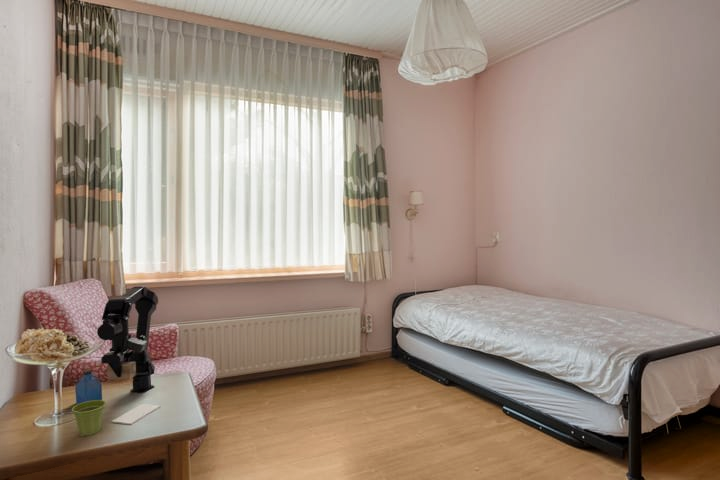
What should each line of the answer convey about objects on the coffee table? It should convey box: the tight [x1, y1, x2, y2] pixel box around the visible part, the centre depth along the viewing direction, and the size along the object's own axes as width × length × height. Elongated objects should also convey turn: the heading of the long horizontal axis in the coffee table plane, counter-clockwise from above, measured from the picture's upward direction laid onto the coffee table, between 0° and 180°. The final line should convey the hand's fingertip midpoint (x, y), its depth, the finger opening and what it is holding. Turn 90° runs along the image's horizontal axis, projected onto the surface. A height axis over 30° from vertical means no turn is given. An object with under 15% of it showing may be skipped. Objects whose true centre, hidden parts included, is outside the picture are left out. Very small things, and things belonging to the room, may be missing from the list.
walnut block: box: [106, 362, 136, 381], centre depth 160 cm, size 4×8×5 cm, turn 92°
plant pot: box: [71, 399, 107, 436], centre depth 143 cm, size 9×9×9 cm
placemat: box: [111, 403, 161, 426], centre depth 155 cm, size 14×8×1 cm, turn 165°
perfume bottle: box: [75, 368, 103, 405], centre depth 167 cm, size 6×6×12 cm
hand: (122, 374), depth 160 cm, fingers closed on walnut block, 5 cm apart
